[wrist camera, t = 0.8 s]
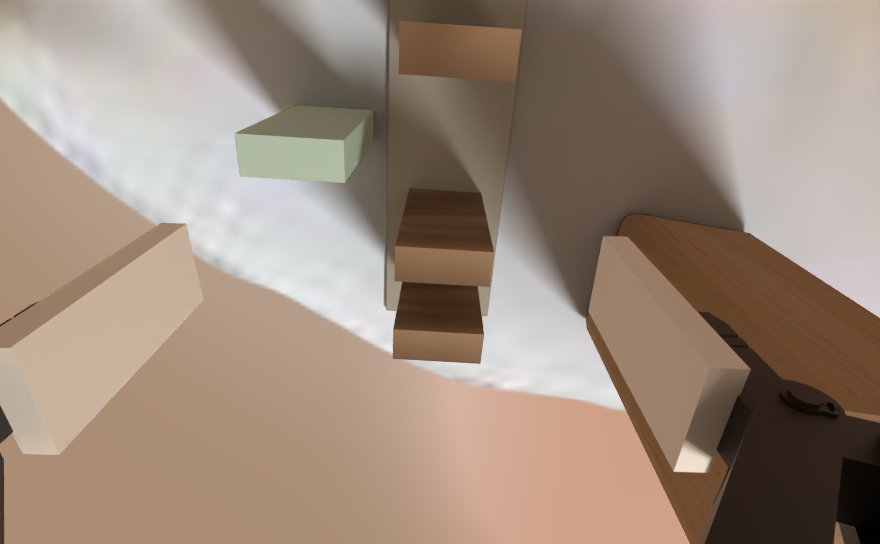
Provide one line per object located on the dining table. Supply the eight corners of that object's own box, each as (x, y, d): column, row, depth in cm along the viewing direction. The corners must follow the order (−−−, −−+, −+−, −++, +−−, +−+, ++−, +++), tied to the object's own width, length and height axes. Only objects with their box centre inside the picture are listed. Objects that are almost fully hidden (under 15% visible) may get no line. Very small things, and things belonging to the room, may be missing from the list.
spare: (296, 104, 30) (234, 133, 21) (373, 109, 30) (343, 140, 22) (298, 136, 31) (239, 176, 22) (373, 141, 31) (345, 182, 22)
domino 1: (414, 25, 28) (399, 20, 19) (497, 31, 28) (522, 29, 19) (413, 62, 29) (398, 73, 20) (494, 67, 29) (515, 82, 20)
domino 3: (407, 253, 35) (393, 329, 26) (474, 258, 35) (483, 334, 26) (406, 277, 36) (392, 358, 27) (471, 281, 36) (480, 363, 27)
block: (696, 342, 38) (915, 609, 20) (578, 323, 38) (698, 583, 20) (754, 230, 34) (1097, 446, 16) (621, 206, 33) (825, 405, 15)
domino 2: (409, 188, 32) (395, 246, 24) (481, 192, 33) (494, 252, 24) (408, 215, 33) (394, 281, 24) (478, 220, 33) (489, 287, 24)
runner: (392, -148, 25) (391, -150, 24) (543, -137, 25) (544, -139, 24) (386, 308, 37) (386, 310, 37) (486, 314, 37) (487, 316, 37)
